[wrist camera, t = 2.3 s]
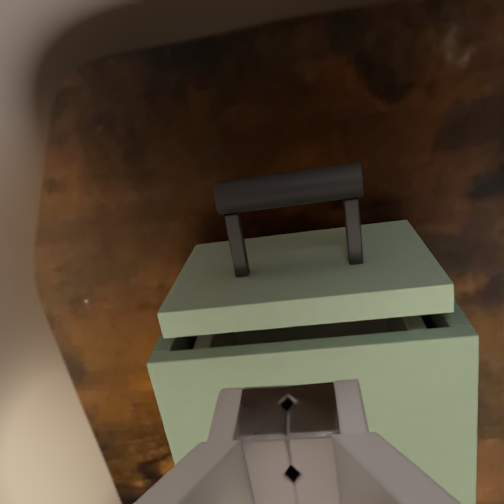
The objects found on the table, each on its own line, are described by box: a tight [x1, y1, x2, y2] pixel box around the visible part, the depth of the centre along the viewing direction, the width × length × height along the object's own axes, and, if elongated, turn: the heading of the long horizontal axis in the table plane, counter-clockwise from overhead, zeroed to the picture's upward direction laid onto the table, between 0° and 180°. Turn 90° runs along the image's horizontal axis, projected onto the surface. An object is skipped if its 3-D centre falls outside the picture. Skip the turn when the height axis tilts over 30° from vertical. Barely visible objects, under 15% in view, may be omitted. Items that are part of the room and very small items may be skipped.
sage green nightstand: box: [146, 300, 479, 504], centre depth 25 cm, size 15×13×10 cm
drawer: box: [157, 162, 454, 349], centre depth 23 cm, size 18×11×8 cm, turn 9°
